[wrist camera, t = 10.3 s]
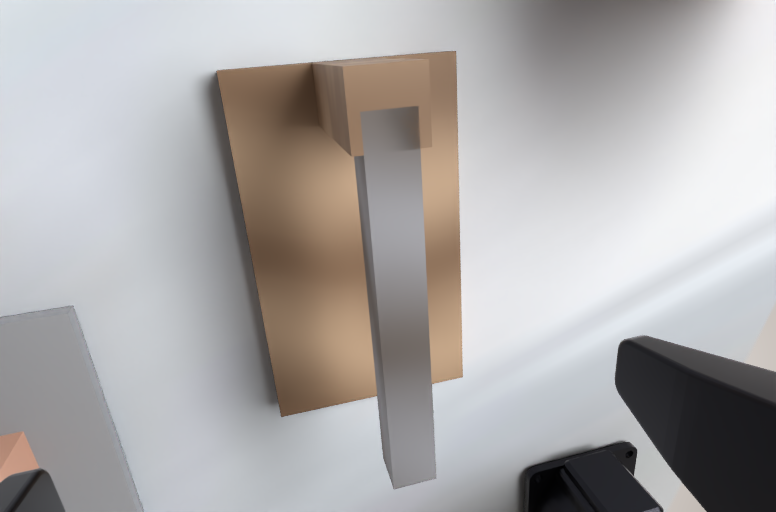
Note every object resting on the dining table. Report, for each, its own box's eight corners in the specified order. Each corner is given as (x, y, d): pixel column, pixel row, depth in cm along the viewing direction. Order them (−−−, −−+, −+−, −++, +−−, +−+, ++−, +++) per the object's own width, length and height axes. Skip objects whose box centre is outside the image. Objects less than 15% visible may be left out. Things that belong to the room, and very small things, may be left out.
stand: (218, 70, 17) (200, 78, 11) (445, 51, 19) (547, 48, 12) (279, 402, 22) (292, 540, 16) (454, 364, 24) (529, 477, 17)
